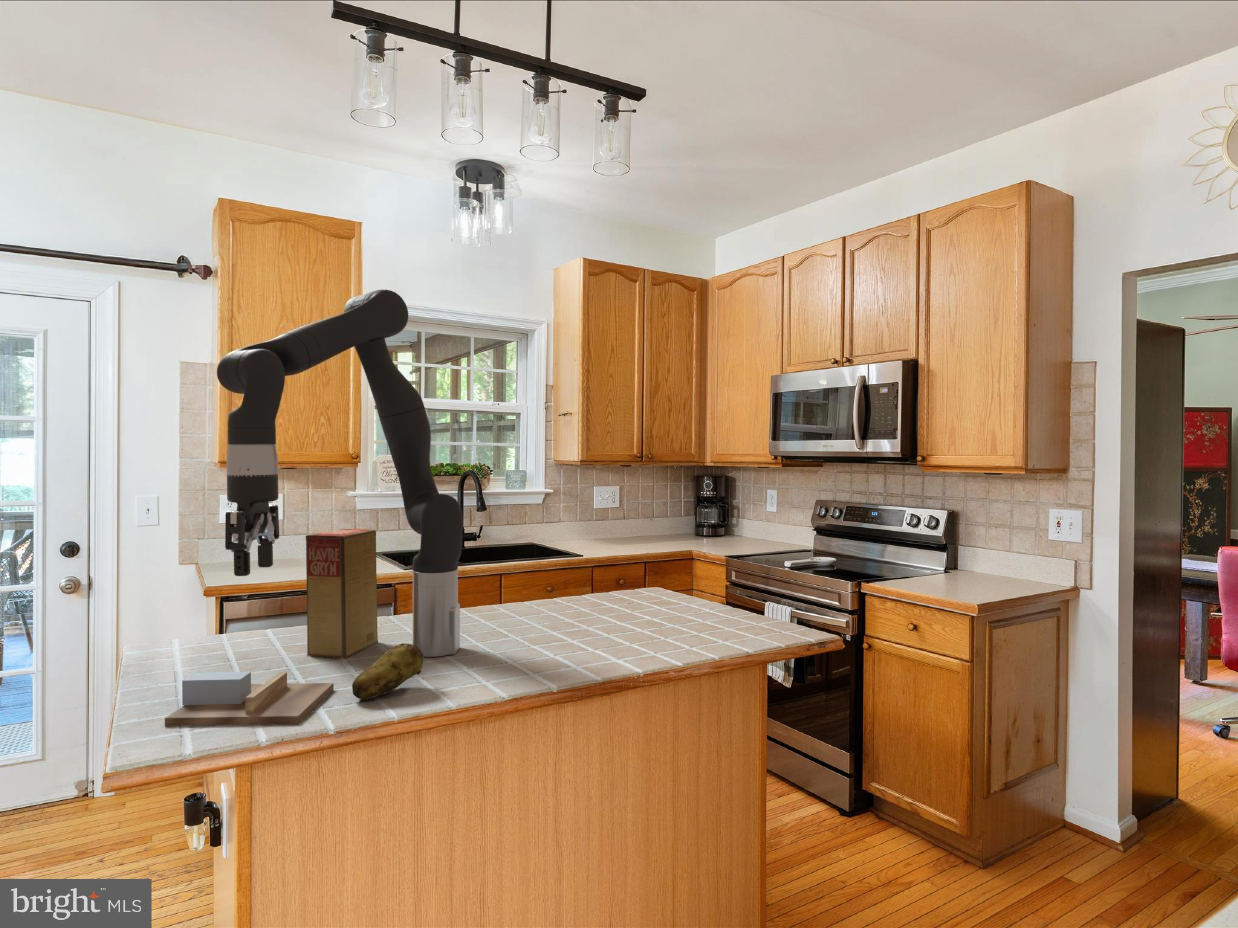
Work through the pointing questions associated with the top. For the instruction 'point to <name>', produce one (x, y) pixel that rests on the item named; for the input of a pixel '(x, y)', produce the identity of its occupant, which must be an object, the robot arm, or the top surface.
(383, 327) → the robot arm
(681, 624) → the top surface
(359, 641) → the food packaging
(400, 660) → the potato
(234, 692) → the block
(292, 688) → the board
